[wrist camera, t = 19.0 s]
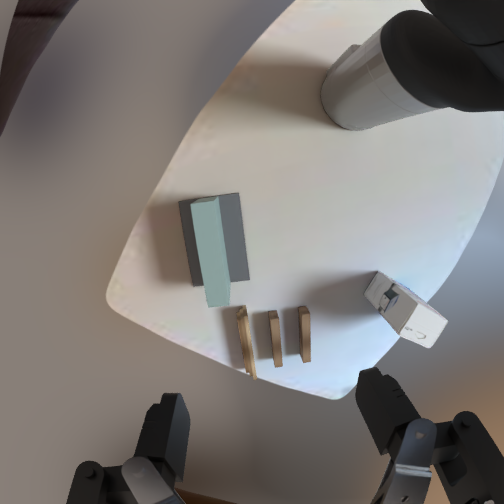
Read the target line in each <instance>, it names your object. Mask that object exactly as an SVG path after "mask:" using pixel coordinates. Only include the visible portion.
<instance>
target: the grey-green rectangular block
mask: <svg viewBox="0 0 504 504" xmlns="http://www.w3.org/2000/svg"><path fill="white" fill-rule="evenodd" d="M190 205H191V212H192V218H193V225H194V231H195V237H196V243H197V249H198V255H199V261H200V267H201V272H202V278H203V283H204V288H205V293H206V298H207V304H208V308H209V307H218V306H227V305H230V276H229V270H228V263H227V256H226V249H225V242H224V235H223V228H222V221H221V213H220V206H219V198H218V196H216V197H209V198H202V199H198V200H196V201H195V202H193V203H192V204H190Z"/></svg>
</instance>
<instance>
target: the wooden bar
mask: <svg viewBox="0 0 504 504" xmlns="http://www.w3.org/2000/svg"><path fill="white" fill-rule="evenodd" d="M239 310H240V312H237V321H238V327H239V334H240V340H241V345H242V351H243V357H244V363H245V369H246V373H248V372H249V373H250V376H253V378H254V380H257V376H256V370H255V363H254V356H253V350H252V343H251V336H250V329H249V322H248V315H247V309H246V305H243V309H239Z"/></svg>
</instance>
